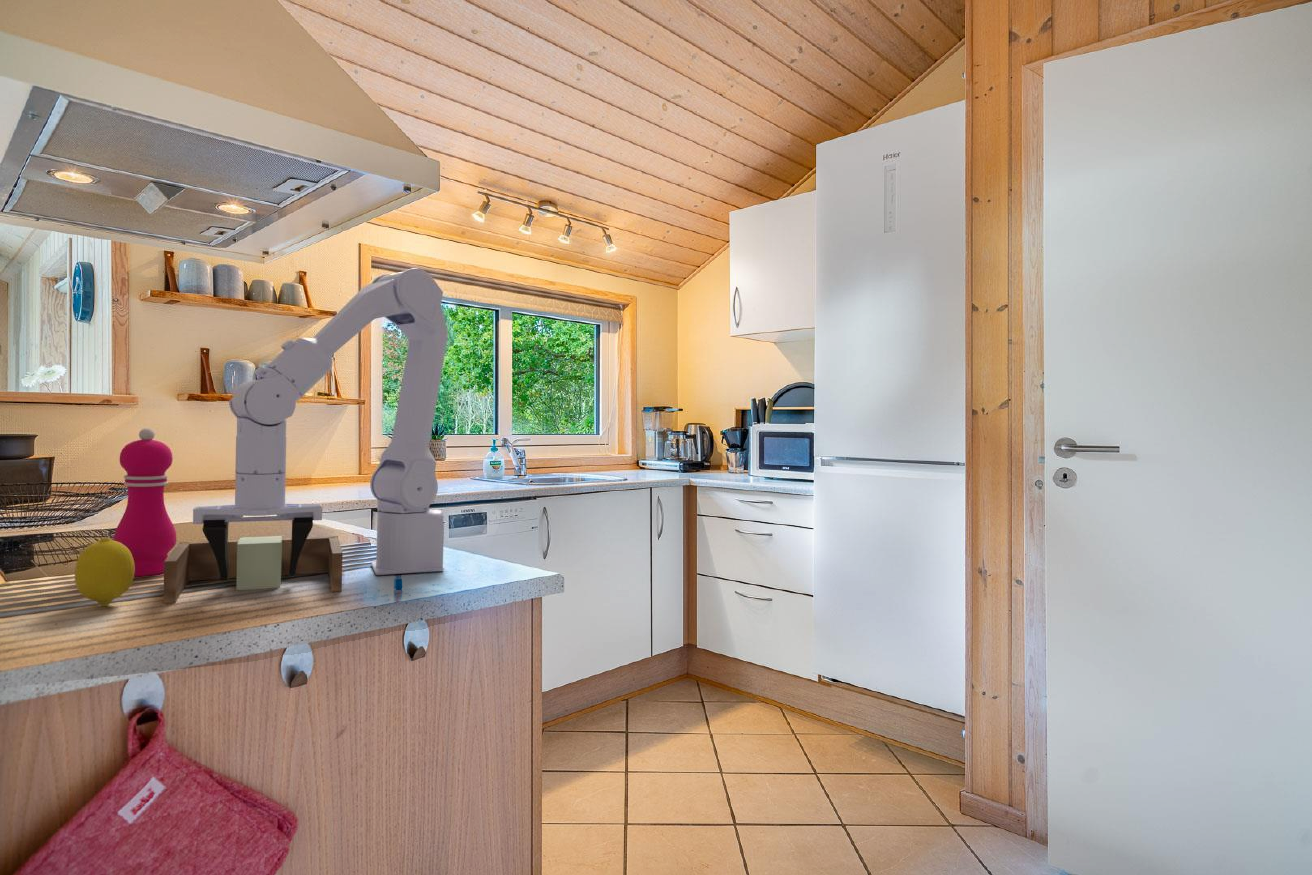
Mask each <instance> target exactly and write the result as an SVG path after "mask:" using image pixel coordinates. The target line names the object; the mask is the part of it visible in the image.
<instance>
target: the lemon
mask: <svg viewBox="0 0 1312 875" xmlns="http://www.w3.org/2000/svg"><path fill="white" fill-rule="evenodd" d="M134 573H135V565H134V560H133V556H132V554H131V552H130V550H129V549H128V548H127V547H126V546H125V545H123V544H122V543H120V542H117V541H113V539H112V538H110V537H108V536H107V537H101V538H100V540H98V541H95V542H93V543H91V544H89V545H88V546H86V547H85V548H84V549H83V550H82V551H81V553H80V554H79V555H78V558H77V560H76V564H75V569H74V582H75V585H76V588H77V590H78V592H79V593H80V594H81V595H82V596H83V597H85V598H86V599H88V600H90V601H93V602H94V601H95V602H96V603H98V604H99V605H100V606H103V607H105V606H108V605H109V604H111V603H112V602H113V601H114V600H115V599H117V598H119V597H121V596H123V595H124V594H126V592H127V591H128V590H129V588H130V587H131V585H132V583H133V581H134V578H135V577H134Z"/></svg>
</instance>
